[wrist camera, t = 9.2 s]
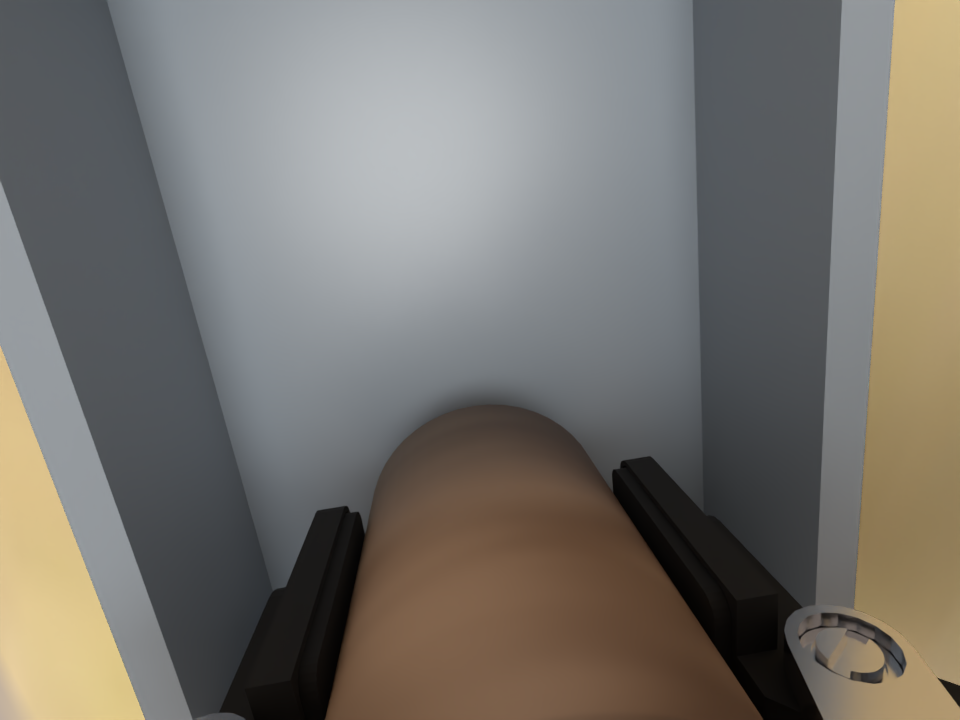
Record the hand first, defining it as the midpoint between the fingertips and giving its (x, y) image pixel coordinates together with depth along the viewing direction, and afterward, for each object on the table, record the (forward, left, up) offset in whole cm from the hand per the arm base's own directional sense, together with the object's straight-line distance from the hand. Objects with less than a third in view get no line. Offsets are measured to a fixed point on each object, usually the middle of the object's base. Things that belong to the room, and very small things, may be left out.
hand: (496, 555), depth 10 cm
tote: (+3, -3, -4) cm, 6 cm away
